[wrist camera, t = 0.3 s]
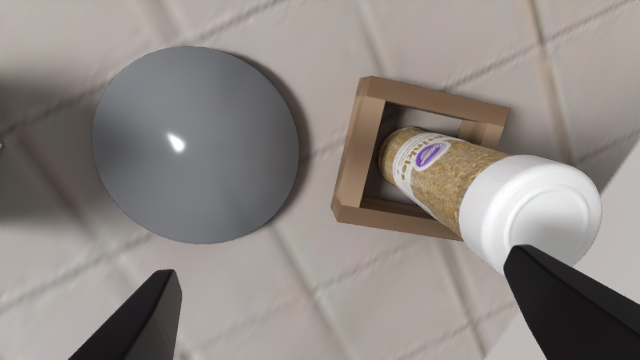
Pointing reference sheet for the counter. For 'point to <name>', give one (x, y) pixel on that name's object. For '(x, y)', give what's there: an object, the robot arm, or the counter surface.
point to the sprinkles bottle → (494, 195)
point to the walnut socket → (372, 94)
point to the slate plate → (195, 145)
